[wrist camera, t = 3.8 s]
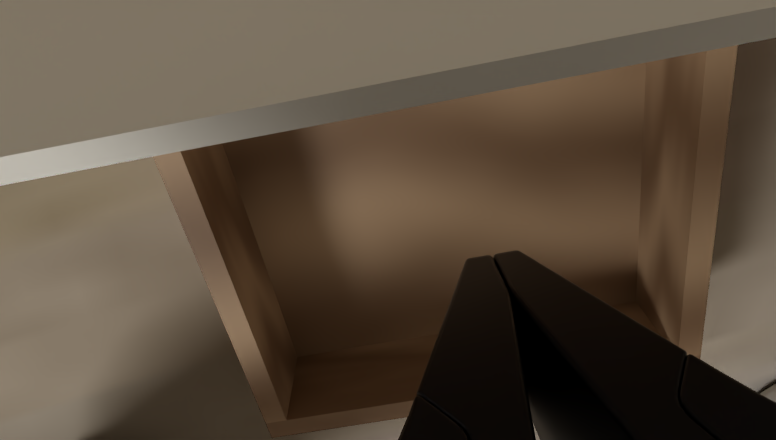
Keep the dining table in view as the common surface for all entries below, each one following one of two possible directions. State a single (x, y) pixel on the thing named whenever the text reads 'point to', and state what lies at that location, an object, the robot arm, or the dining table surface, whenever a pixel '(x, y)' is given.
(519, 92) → the wooden tray
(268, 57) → the grey flat panel
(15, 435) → the dining table surface
